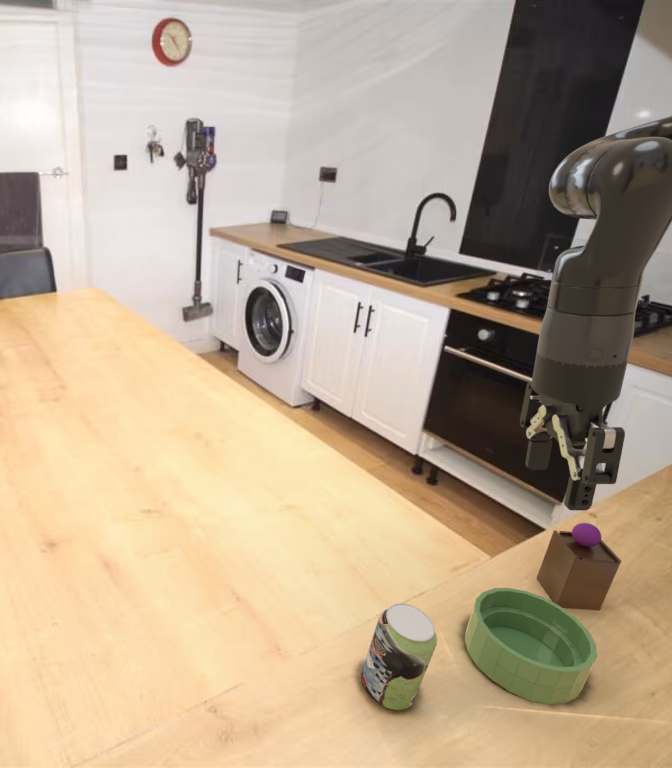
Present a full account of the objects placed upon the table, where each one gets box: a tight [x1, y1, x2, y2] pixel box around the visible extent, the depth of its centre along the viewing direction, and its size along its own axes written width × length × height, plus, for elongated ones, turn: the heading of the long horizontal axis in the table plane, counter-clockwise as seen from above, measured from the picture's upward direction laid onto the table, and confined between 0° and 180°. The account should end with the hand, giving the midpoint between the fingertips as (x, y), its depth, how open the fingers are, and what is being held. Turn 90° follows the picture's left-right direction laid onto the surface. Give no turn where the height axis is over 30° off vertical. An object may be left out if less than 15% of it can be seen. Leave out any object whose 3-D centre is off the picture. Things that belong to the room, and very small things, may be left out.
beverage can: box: [360, 602, 438, 711], centre depth 61 cm, size 6×7×12 cm
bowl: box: [464, 587, 598, 705], centre depth 66 cm, size 12×12×6 cm
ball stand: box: [536, 529, 622, 611], centre depth 76 cm, size 6×6×9 cm
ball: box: [571, 522, 602, 547], centre depth 74 cm, size 3×3×3 cm
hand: (554, 487), depth 61 cm, fingers open, 8 cm apart
